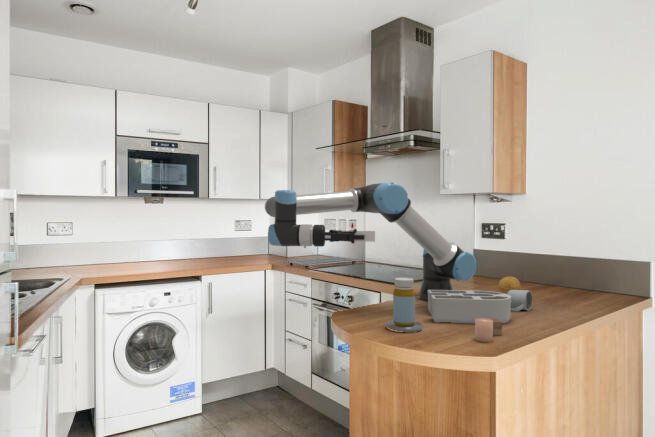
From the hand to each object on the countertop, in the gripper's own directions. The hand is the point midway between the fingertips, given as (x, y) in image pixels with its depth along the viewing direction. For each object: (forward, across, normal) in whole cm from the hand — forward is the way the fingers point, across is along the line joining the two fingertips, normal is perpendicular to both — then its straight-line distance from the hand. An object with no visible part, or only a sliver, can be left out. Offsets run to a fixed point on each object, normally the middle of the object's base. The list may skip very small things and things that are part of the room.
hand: (375, 236), depth 147 cm
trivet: (+10, +4, -30) cm, 32 cm away
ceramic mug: (+56, -29, -30) cm, 70 cm away
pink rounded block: (+33, +14, -30) cm, 47 cm away
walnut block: (+37, +7, -30) cm, 48 cm away
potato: (+60, -53, -30) cm, 85 cm away
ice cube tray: (+34, -13, -30) cm, 47 cm away
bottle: (+10, +4, -29) cm, 31 cm away
